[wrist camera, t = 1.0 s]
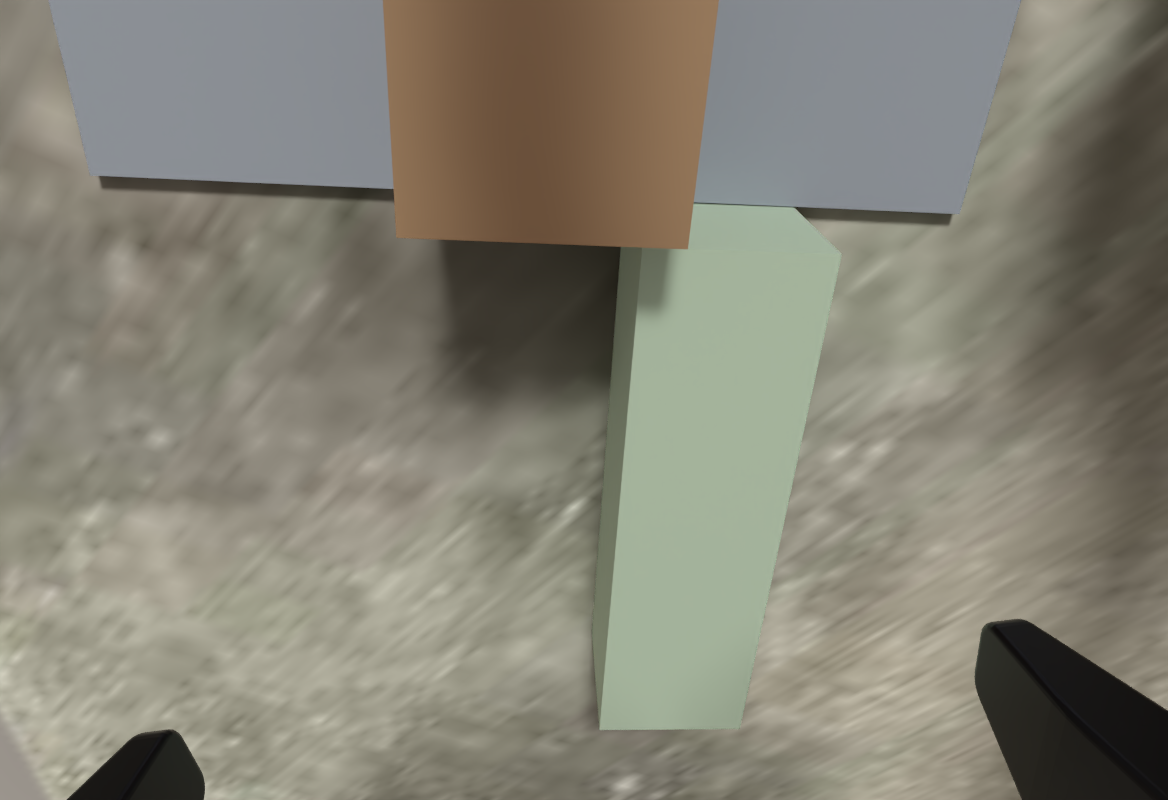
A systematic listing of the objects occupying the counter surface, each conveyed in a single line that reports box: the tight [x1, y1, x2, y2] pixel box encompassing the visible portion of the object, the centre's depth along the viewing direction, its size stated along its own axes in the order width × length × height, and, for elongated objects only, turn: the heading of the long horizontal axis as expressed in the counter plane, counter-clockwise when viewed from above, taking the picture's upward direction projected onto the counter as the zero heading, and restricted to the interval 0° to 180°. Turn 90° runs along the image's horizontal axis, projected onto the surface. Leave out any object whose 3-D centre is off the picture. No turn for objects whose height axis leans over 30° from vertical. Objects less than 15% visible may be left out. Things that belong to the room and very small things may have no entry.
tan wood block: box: [383, 0, 719, 249], centre depth 15 cm, size 5×5×5 cm
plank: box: [592, 202, 842, 730], centre depth 21 cm, size 4×14×4 cm, turn 177°
